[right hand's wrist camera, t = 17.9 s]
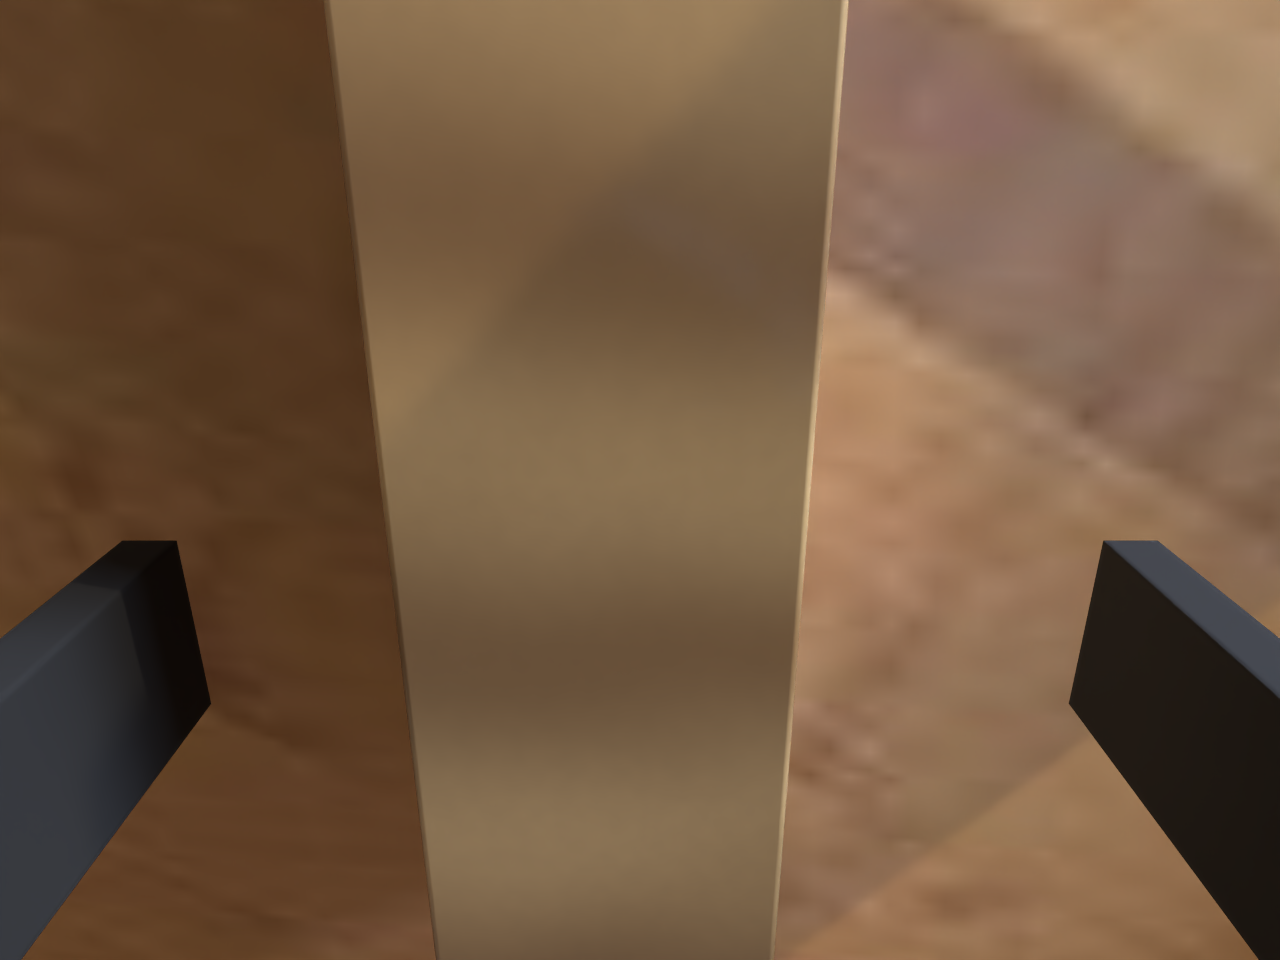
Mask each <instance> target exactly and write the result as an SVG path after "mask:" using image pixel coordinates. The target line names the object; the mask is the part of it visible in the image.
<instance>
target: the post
mask: <svg viewBox="0 0 1280 960" xmlns="http://www.w3.org/2000/svg"><path fill="white" fill-rule="evenodd" d="M323 2H324V11H325V19H326V28H327V37H328V45H329V54H330V62H331V71H332V79H333V88H334V96H335V105H336V113H337V122H338V130H339V139H340V147H341V156H342V164H343V173H344V181H345V190H346V198H347V207H348V215H349V224H350V232H351V241H352V249H353V258H354V266H355V275H356V283H357V292H358V300H359V309H360V317H361V326H362V334H363V343H364V352H365V360H366V369H367V377H368V386H369V394H370V403H371V411H372V420H373V428H374V437H375V445H376V454H377V462H378V471H379V479H380V488H381V496H382V505H383V513H384V522H385V530H386V539H387V547H388V556H389V564H390V573H391V581H392V590H393V598H394V607H395V615H396V624H397V632H398V641H399V649H400V658H401V667H402V675H403V684H404V692H405V701H406V709H407V718H408V726H409V735H410V743H411V752H412V760H413V769H414V777H415V786H416V794H417V803H418V811H419V820H420V828H421V837H422V845H423V854H424V862H425V871H426V879H427V888H428V896H429V905H430V913H431V922H432V930H433V939H434V947H435V956H436V960H774V952H775V939H776V926H777V914H778V901H779V888H780V875H781V862H782V850H783V837H784V824H785V811H786V798H787V785H788V773H789V760H790V747H791V734H792V721H793V708H794V696H795V683H796V670H797V657H798V644H799V632H800V619H801V606H802V593H803V580H804V567H805V555H806V542H807V529H808V516H809V503H810V490H811V478H812V465H813V452H814V439H815V426H816V414H817V401H818V388H819V375H820V362H821V349H822V337H823V324H824V311H825V298H826V285H827V273H828V260H829V247H830V234H831V221H832V208H833V196H834V183H835V170H836V157H837V144H838V131H839V119H840V106H841V93H842V80H843V67H844V55H845V42H846V29H847V16H848V3H849V0H323Z"/></svg>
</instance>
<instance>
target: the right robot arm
mask: <svg viewBox="0 0 1280 960" xmlns="http://www.w3.org/2000/svg"><path fill="white" fill-rule="evenodd" d="M210 704H211V701H210V696H209V692H208V687H207V682H206V677H205V673H204V668H203V663H202V659H201V654H200V649H199V644H198V640H197V635H196V630H195V625H194V621H193V616H192V611H191V607H190V602H189V597H188V592H187V588H186V583H185V578H184V574H183V569H182V564H181V559H180V555H179V550H178V545H177V541H121V542H120V543H119V544H118V545H116V546H115V547H114V548H113V549H112V550H110V551H109V552H108V553H107V554H105V555H104V556H103V557H102V558H100V559H99V560H98V561H97V562H95V563H94V564H93V565H92V566H90V567H89V568H88V569H87V570H85V571H84V572H83V573H82V574H80V575H79V576H78V577H77V578H75V579H74V580H73V581H72V582H70V583H69V584H68V585H67V586H65V587H64V588H63V589H62V590H60V591H59V592H58V593H57V594H55V595H54V596H53V597H52V598H50V599H49V600H48V601H47V602H45V603H44V604H43V605H42V606H40V607H39V608H38V609H37V610H35V611H34V612H33V613H32V614H30V615H29V616H28V617H27V618H25V619H24V620H23V621H22V622H21V623H19V624H18V625H17V626H16V627H14V628H13V629H12V630H11V631H9V632H8V633H7V634H6V635H4V636H3V637H2V638H1V639H0V960H21V959H22V958H23V957H24V955H25V954H26V952H27V951H28V950H29V948H30V947H31V946H32V944H33V943H34V942H35V940H36V939H37V938H38V936H39V935H40V934H41V932H42V931H43V930H44V928H45V927H46V926H47V924H48V923H49V921H50V920H51V919H52V917H53V916H54V915H55V913H56V912H57V911H58V909H59V908H60V907H61V905H62V904H63V903H64V901H65V900H66V899H67V897H68V896H69V895H70V893H71V892H72V890H73V889H74V888H75V886H76V885H77V884H78V882H79V881H80V880H81V878H82V877H83V876H84V874H85V873H86V872H87V870H88V869H89V868H90V866H91V865H92V864H93V862H94V861H95V859H96V858H97V857H98V855H99V854H100V853H101V851H102V850H103V849H104V847H105V846H106V845H107V843H108V842H109V841H110V839H111V838H112V837H113V835H114V834H115V833H116V831H117V830H118V828H119V827H120V826H121V824H122V823H123V822H124V820H125V819H126V818H127V816H128V815H129V814H130V812H131V811H132V810H133V808H134V807H135V806H136V804H137V803H138V802H139V800H140V799H141V797H142V796H143V795H144V793H145V792H146V791H147V789H148V788H149V787H150V785H151V784H152V783H153V781H154V780H155V779H156V777H157V776H158V775H159V773H160V772H161V771H162V769H163V768H164V766H165V765H166V764H167V762H168V761H169V760H170V758H171V757H172V756H173V754H174V753H175V752H176V750H177V749H178V748H179V746H180V745H181V744H182V742H183V741H184V740H185V738H186V737H187V735H188V734H189V733H190V731H191V730H192V729H193V727H194V726H195V725H196V723H197V722H198V721H199V719H200V718H201V717H202V715H203V714H204V713H205V711H206V710H207V709H208V707H209V706H210ZM1069 704H1070V706H1071V707H1072V709H1073V710H1074V711H1075V713H1076V714H1077V715H1078V717H1079V718H1080V719H1081V721H1082V722H1083V723H1084V725H1085V726H1086V727H1087V729H1088V730H1089V731H1090V733H1091V734H1092V735H1093V737H1094V738H1095V740H1096V741H1097V742H1098V744H1099V745H1100V746H1101V748H1102V749H1103V750H1104V752H1105V753H1106V754H1107V756H1108V757H1109V758H1110V760H1111V761H1112V762H1113V764H1114V765H1115V766H1116V768H1117V769H1118V771H1119V772H1120V773H1121V775H1122V776H1123V777H1124V779H1125V780H1126V781H1127V783H1128V784H1129V785H1130V787H1131V788H1132V789H1133V791H1134V792H1135V793H1136V795H1137V796H1138V797H1139V799H1140V800H1141V802H1142V803H1143V804H1144V806H1145V807H1146V808H1147V810H1148V811H1149V812H1150V814H1151V815H1152V816H1153V818H1154V819H1155V820H1156V822H1157V823H1158V824H1159V826H1160V827H1161V828H1162V830H1163V831H1164V833H1165V834H1166V835H1167V837H1168V838H1169V839H1170V841H1171V842H1172V843H1173V845H1174V846H1175V847H1176V849H1177V850H1178V851H1179V853H1180V854H1181V855H1182V857H1183V858H1184V859H1185V861H1186V862H1187V864H1188V865H1189V866H1190V868H1191V869H1192V870H1193V872H1194V873H1195V874H1196V876H1197V877H1198V878H1199V880H1200V881H1201V882H1202V884H1203V885H1204V886H1205V888H1206V889H1207V890H1208V892H1209V893H1210V895H1211V896H1212V897H1213V899H1214V900H1215V901H1216V903H1217V904H1218V905H1219V907H1220V908H1221V909H1222V911H1223V912H1224V913H1225V915H1226V916H1227V917H1228V919H1229V920H1230V921H1231V923H1232V924H1233V926H1234V927H1235V928H1236V930H1237V931H1238V932H1239V934H1240V935H1241V936H1242V938H1243V939H1244V940H1245V942H1246V943H1247V944H1248V946H1249V947H1250V948H1251V950H1252V951H1253V952H1254V954H1255V955H1256V957H1257V958H1258V959H1259V960H1280V639H1279V638H1278V637H1277V636H1276V635H1274V634H1273V633H1272V632H1271V631H1269V630H1268V629H1267V628H1266V627H1264V626H1263V625H1262V624H1261V623H1260V622H1258V621H1257V620H1256V619H1255V618H1253V617H1252V616H1251V615H1250V614H1248V613H1247V612H1246V611H1245V610H1243V609H1242V608H1241V607H1240V606H1238V605H1237V604H1236V603H1235V602H1233V601H1232V600H1231V599H1230V598H1228V597H1227V596H1226V595H1225V594H1223V593H1222V592H1221V591H1220V590H1218V589H1217V588H1216V587H1215V586H1213V585H1212V584H1211V583H1210V582H1208V581H1207V580H1206V579H1205V578H1203V577H1202V576H1201V575H1200V574H1198V573H1197V572H1196V571H1195V570H1193V569H1192V568H1191V567H1190V566H1188V565H1187V564H1186V563H1185V562H1183V561H1182V560H1181V559H1180V558H1178V557H1177V556H1176V555H1175V554H1173V553H1172V552H1171V551H1170V550H1168V549H1167V548H1166V547H1165V546H1164V545H1162V544H1161V543H1160V542H1159V541H1103V545H1102V550H1101V555H1100V559H1099V564H1098V569H1097V574H1096V578H1095V583H1094V588H1093V592H1092V597H1091V602H1090V607H1089V611H1088V616H1087V621H1086V625H1085V630H1084V635H1083V640H1082V644H1081V649H1080V654H1079V659H1078V663H1077V668H1076V673H1075V677H1074V682H1073V687H1072V692H1071V696H1070V701H1069Z"/></svg>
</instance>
